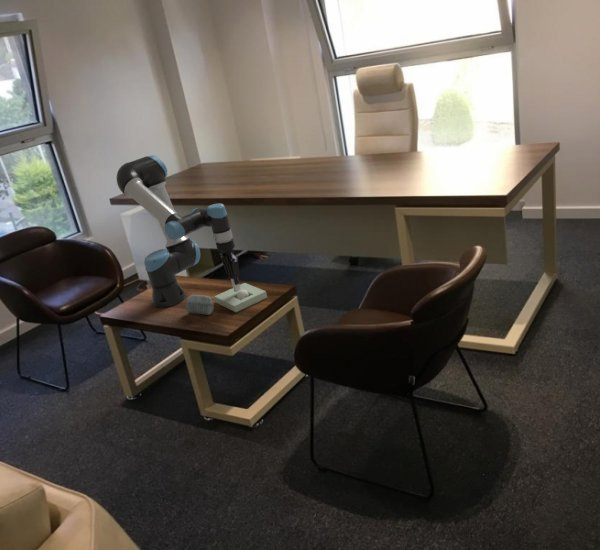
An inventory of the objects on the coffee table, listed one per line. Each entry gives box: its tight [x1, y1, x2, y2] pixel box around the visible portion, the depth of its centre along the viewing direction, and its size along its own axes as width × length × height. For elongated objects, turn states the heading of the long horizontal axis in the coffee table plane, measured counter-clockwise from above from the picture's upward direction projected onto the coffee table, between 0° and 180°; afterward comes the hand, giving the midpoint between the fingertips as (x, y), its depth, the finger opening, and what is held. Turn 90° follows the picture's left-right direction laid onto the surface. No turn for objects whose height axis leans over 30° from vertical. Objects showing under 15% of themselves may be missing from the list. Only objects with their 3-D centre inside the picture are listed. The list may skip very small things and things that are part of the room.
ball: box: [237, 290, 249, 300], centre depth 256 cm, size 5×5×5 cm
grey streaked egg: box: [185, 294, 215, 316], centre depth 253 cm, size 14×10×10 cm
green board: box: [214, 282, 268, 313], centre depth 258 cm, size 18×16×3 cm
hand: (237, 290), depth 258 cm, fingers closed
